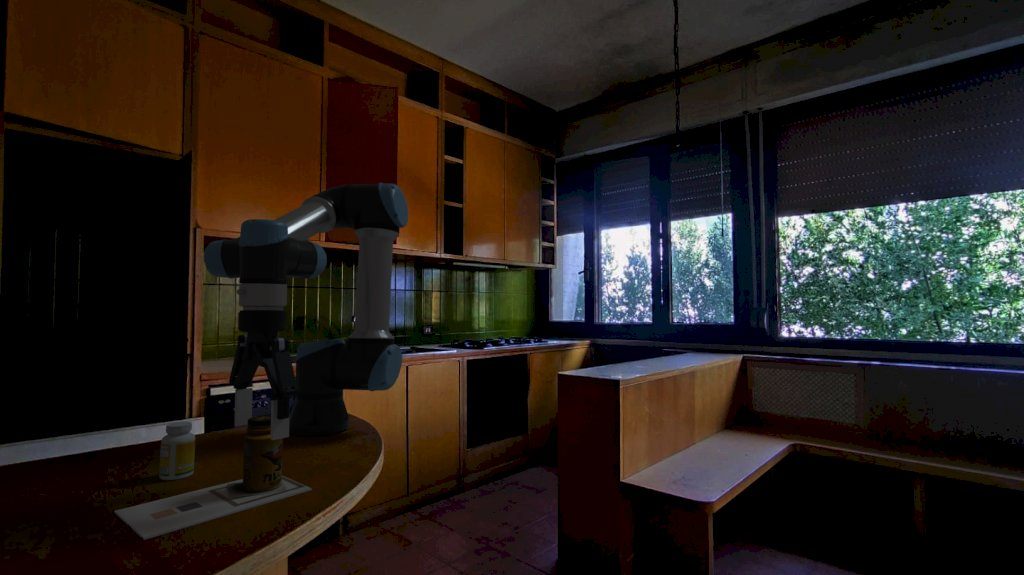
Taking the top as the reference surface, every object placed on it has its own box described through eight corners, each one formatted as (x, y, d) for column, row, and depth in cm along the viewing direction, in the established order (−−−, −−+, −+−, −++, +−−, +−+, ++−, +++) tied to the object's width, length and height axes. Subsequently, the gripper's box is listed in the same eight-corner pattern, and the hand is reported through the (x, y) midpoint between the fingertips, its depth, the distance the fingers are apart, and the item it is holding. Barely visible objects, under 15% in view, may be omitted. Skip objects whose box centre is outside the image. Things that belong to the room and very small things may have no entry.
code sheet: (272, 473, 94) (272, 471, 94) (311, 490, 85) (311, 488, 85) (114, 512, 75) (114, 510, 75) (143, 539, 66) (144, 537, 66)
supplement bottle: (154, 482, 89) (156, 427, 89) (165, 472, 94) (167, 421, 94) (188, 479, 90) (190, 426, 91) (198, 470, 95) (199, 419, 96)
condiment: (286, 489, 84) (288, 418, 85) (229, 499, 80) (232, 424, 80) (280, 477, 90) (282, 411, 91) (226, 486, 86) (229, 416, 86)
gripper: (210, 308, 91) (207, 424, 91) (276, 310, 76) (273, 450, 75) (252, 307, 97) (250, 416, 96) (321, 309, 81) (319, 439, 81)
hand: (260, 431), depth 86 cm, fingers open, 13 cm apart
